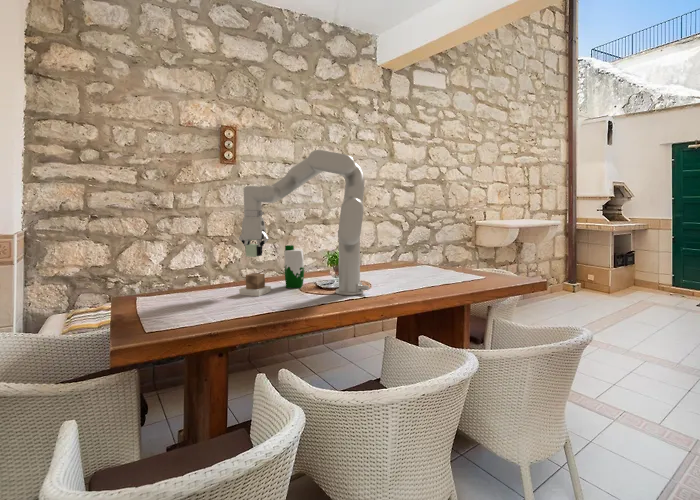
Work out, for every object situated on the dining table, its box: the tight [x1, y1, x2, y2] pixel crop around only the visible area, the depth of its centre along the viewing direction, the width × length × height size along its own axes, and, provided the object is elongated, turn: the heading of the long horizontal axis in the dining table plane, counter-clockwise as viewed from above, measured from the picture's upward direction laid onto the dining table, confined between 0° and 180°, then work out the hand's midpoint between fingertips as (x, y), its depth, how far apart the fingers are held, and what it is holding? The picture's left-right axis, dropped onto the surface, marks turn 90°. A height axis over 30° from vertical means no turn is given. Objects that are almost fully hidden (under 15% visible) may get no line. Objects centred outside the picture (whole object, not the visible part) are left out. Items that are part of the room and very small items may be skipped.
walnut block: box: [245, 272, 266, 289], centre depth 183 cm, size 6×6×6 cm
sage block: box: [245, 243, 263, 258], centre depth 181 cm, size 5×5×5 cm
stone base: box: [238, 285, 272, 297], centre depth 183 cm, size 10×10×2 cm
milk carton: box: [283, 244, 305, 289], centre depth 197 cm, size 9×9×20 cm
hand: (254, 254), depth 182 cm, fingers closed on sage block, 5 cm apart
